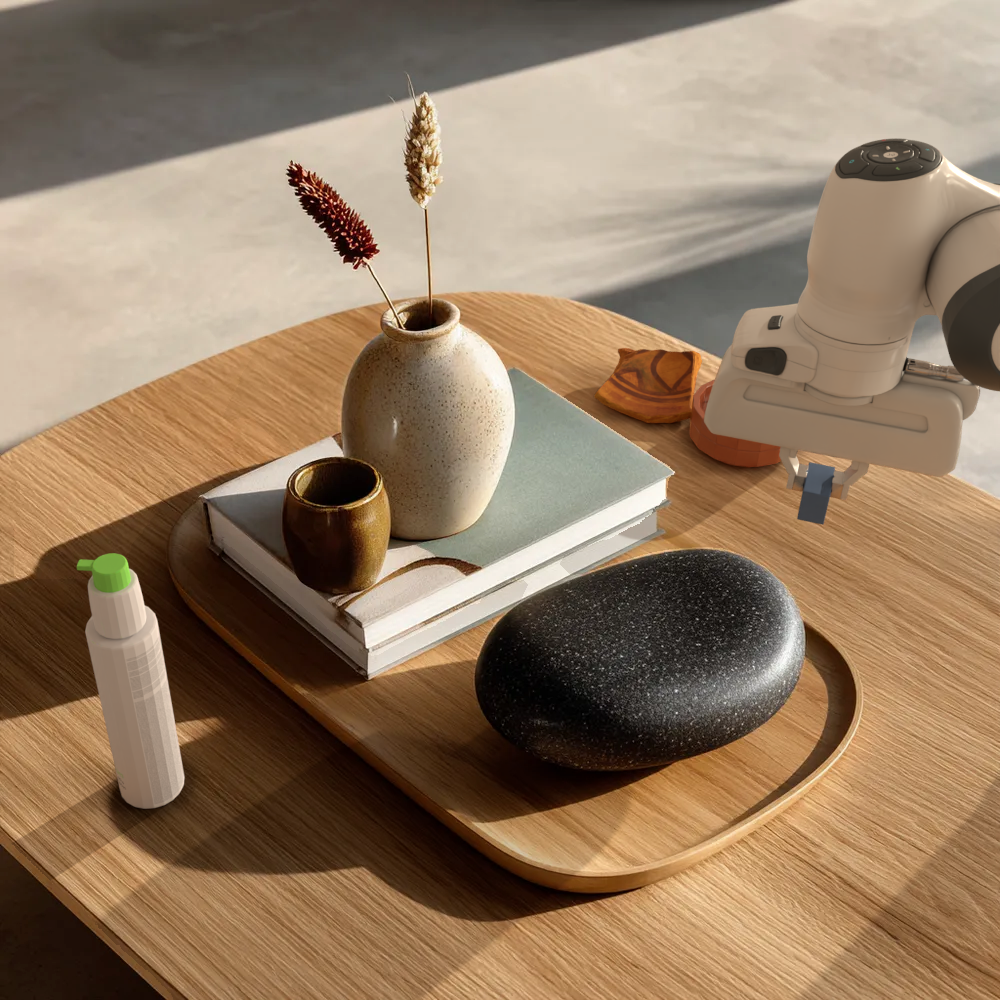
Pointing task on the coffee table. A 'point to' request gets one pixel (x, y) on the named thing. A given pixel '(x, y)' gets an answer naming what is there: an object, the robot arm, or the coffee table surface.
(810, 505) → the eraser
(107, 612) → the bottle
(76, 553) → the coffee table surface
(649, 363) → the pottery fragment
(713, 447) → the bowl
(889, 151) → the robot arm
